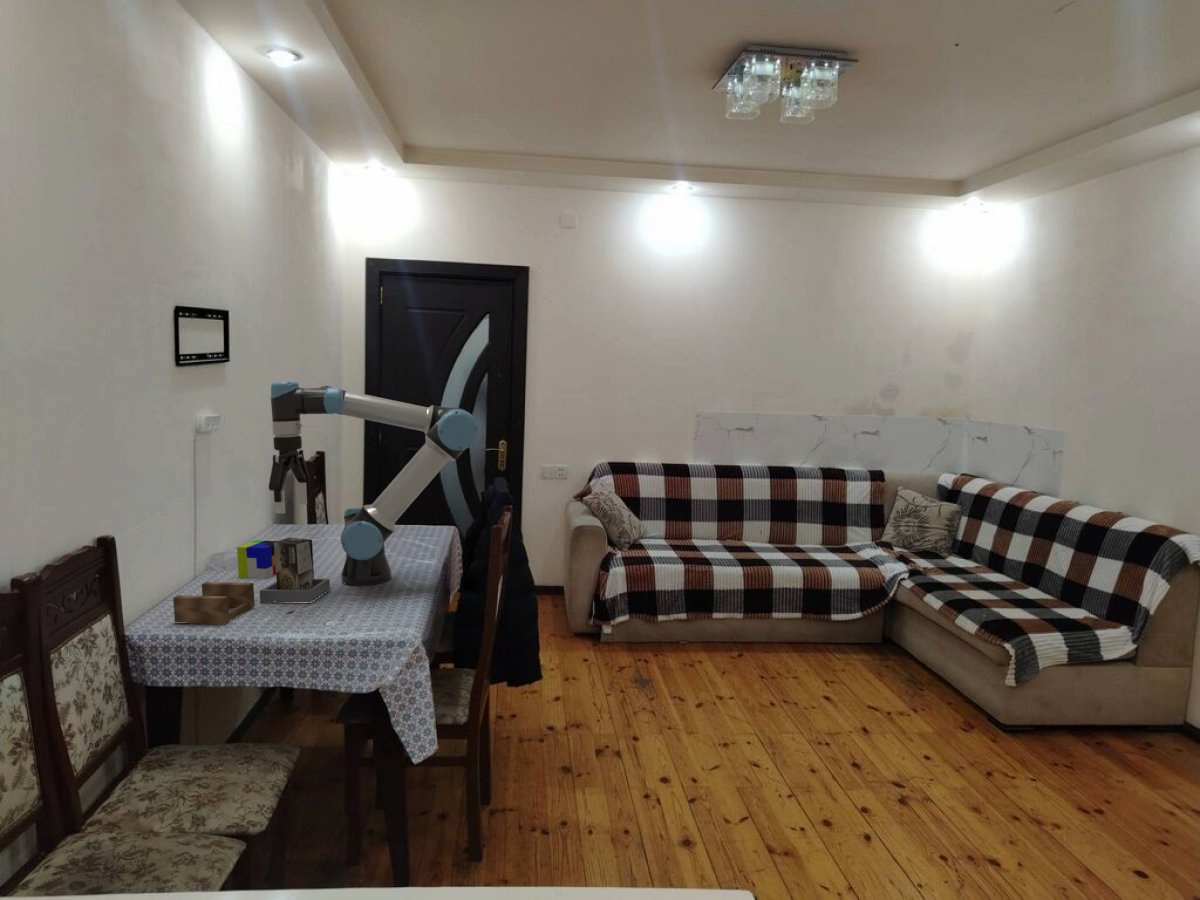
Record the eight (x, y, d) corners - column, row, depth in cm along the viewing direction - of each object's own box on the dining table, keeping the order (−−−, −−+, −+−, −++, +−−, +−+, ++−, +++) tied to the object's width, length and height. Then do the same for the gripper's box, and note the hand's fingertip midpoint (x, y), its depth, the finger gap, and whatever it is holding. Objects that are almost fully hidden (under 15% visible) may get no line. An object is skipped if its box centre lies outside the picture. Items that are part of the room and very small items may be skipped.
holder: (254, 607, 228) (253, 582, 227) (225, 624, 213) (223, 598, 212) (207, 606, 229) (205, 582, 228) (174, 623, 214) (173, 597, 213)
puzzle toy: (266, 579, 257) (264, 548, 256) (238, 577, 259) (236, 547, 258) (285, 571, 267) (283, 541, 266) (257, 569, 269) (256, 540, 268)
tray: (330, 590, 243) (329, 578, 243) (310, 603, 230) (310, 591, 230) (282, 589, 244) (281, 578, 244) (260, 602, 232) (259, 590, 231)
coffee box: (316, 593, 238) (313, 539, 237) (299, 599, 233) (296, 544, 231) (293, 589, 242) (290, 536, 241) (276, 595, 237) (273, 541, 235)
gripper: (278, 439, 219) (283, 517, 222) (318, 431, 244) (322, 501, 246) (252, 440, 220) (257, 517, 222) (294, 431, 245) (298, 501, 247)
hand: (291, 508), depth 234 cm, fingers open, 13 cm apart
